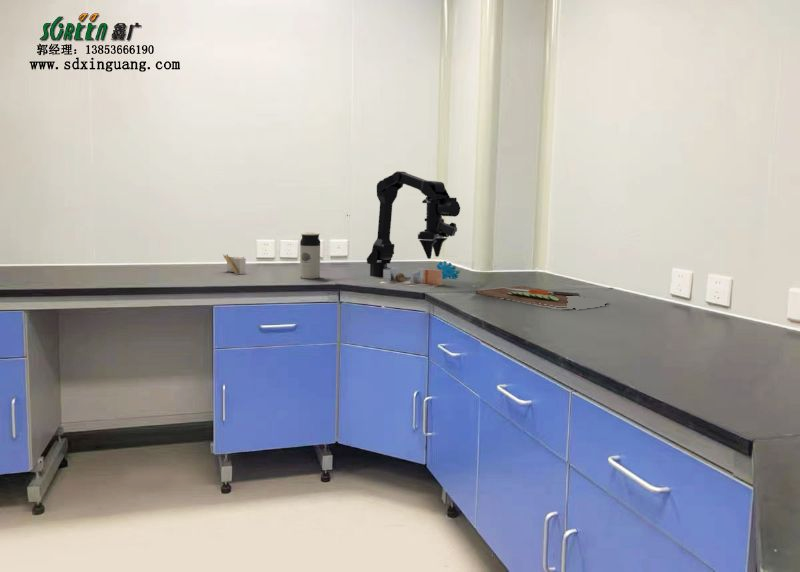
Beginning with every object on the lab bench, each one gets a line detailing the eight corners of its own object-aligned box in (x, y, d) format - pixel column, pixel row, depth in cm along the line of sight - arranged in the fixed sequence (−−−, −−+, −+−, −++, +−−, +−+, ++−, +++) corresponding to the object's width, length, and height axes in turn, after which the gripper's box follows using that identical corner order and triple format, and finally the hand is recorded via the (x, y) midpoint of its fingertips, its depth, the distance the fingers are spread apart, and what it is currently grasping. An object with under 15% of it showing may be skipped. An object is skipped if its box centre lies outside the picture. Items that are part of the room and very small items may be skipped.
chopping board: (467, 293, 247) (467, 285, 247) (517, 288, 263) (517, 280, 263) (566, 313, 212) (566, 304, 212) (616, 306, 228) (617, 297, 228)
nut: (393, 282, 258) (394, 273, 257) (397, 281, 261) (397, 272, 261) (402, 283, 257) (402, 273, 256) (406, 281, 260) (406, 272, 259)
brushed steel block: (383, 282, 257) (383, 269, 257) (391, 279, 265) (391, 267, 264) (390, 282, 256) (390, 269, 255) (398, 280, 264) (398, 267, 263)
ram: (410, 283, 254) (410, 269, 253) (416, 281, 260) (417, 267, 259) (436, 285, 250) (437, 271, 249) (442, 283, 256) (443, 269, 256)
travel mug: (309, 275, 279) (309, 232, 276) (323, 277, 274) (324, 233, 272) (295, 277, 273) (296, 232, 270) (310, 279, 268) (310, 234, 265)
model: (240, 275, 278) (239, 256, 277) (221, 272, 284) (221, 254, 283) (245, 274, 281) (245, 256, 280) (227, 272, 287) (227, 254, 286)
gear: (440, 278, 270) (435, 258, 276) (434, 286, 275) (428, 267, 280) (464, 280, 275) (458, 261, 281) (457, 289, 279) (451, 270, 285)
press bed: (378, 285, 256) (378, 281, 256) (390, 282, 267) (390, 277, 267) (433, 290, 248) (433, 285, 248) (443, 286, 259) (443, 281, 259)
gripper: (447, 216, 239) (446, 260, 241) (462, 215, 256) (461, 256, 259) (417, 216, 243) (416, 259, 245) (434, 214, 261) (433, 255, 263)
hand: (433, 257), depth 253 cm, fingers open, 9 cm apart
